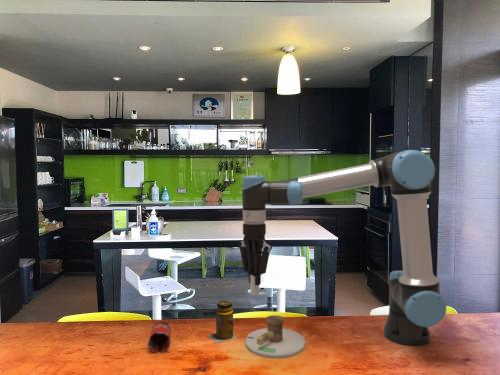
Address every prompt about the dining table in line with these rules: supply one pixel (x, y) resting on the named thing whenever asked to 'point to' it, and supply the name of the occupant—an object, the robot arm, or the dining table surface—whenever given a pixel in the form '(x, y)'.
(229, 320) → the condiment
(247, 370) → the dining table surface
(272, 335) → the tuning knob
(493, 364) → the dining table surface
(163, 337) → the beverage can
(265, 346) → the dial plate
